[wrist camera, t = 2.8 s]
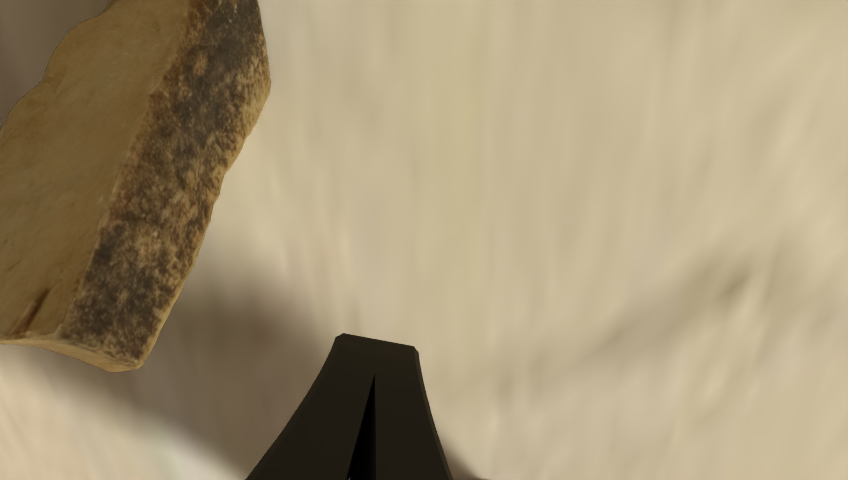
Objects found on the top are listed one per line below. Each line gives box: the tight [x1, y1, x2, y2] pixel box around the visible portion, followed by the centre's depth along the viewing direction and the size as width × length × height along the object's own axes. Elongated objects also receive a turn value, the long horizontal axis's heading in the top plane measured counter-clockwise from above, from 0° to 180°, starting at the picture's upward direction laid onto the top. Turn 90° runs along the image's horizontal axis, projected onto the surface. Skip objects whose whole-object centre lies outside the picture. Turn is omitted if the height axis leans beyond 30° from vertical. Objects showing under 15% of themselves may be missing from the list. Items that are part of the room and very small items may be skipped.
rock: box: [0, 0, 271, 372], centre depth 14 cm, size 11×9×10 cm
